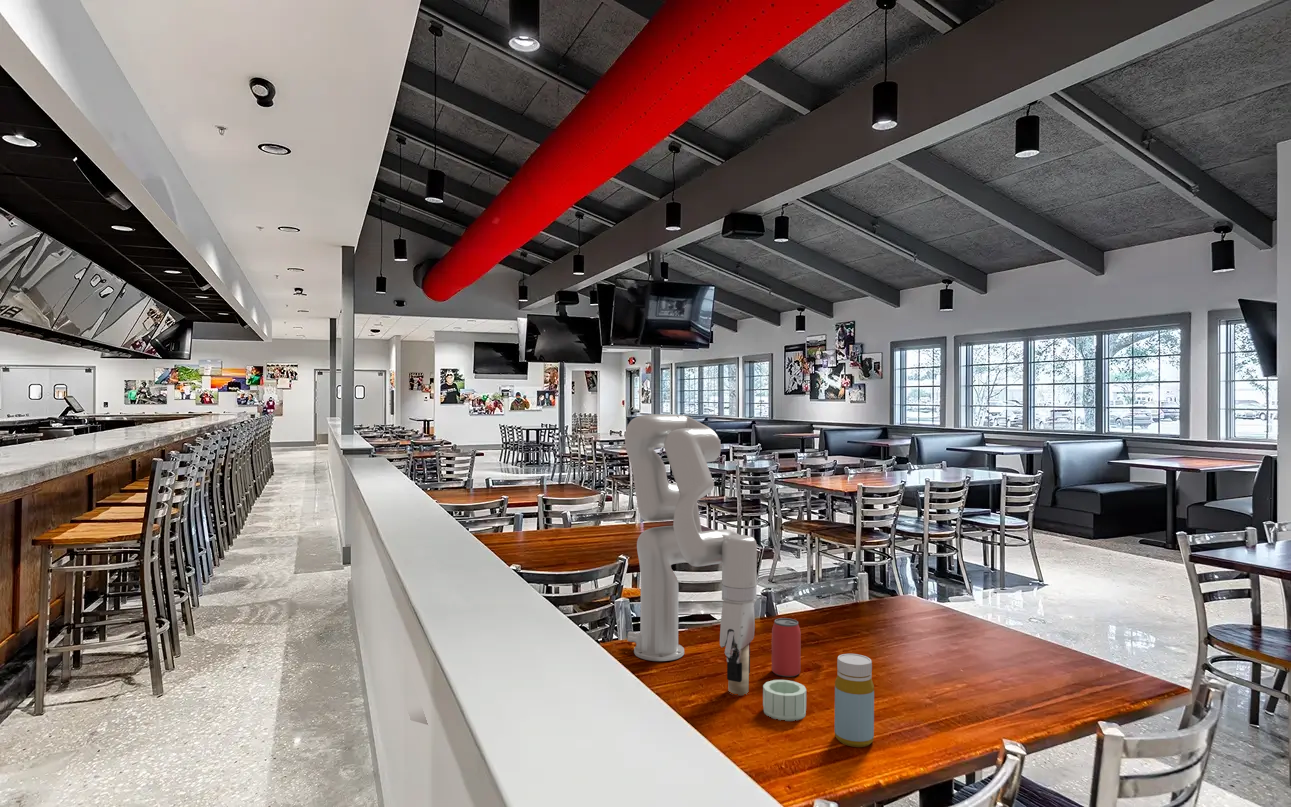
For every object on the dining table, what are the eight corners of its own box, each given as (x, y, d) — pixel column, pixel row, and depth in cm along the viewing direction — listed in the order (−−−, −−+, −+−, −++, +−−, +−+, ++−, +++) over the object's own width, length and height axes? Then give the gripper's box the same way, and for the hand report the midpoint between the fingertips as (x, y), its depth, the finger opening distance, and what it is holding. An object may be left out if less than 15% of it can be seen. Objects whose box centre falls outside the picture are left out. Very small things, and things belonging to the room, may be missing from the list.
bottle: (829, 732, 139) (829, 653, 139) (865, 731, 140) (865, 652, 140) (842, 749, 132) (842, 666, 132) (879, 747, 133) (880, 665, 133)
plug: (725, 693, 158) (725, 646, 158) (732, 686, 162) (732, 641, 162) (744, 696, 156) (745, 649, 156) (751, 689, 160) (751, 644, 160)
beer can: (800, 679, 166) (800, 626, 167) (771, 676, 168) (771, 624, 168) (800, 669, 173) (800, 618, 173) (772, 666, 174) (772, 616, 174)
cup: (758, 715, 146) (758, 690, 146) (770, 701, 154) (770, 677, 154) (799, 724, 142) (799, 698, 142) (810, 708, 150) (810, 684, 150)
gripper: (736, 582, 168) (735, 662, 168) (708, 599, 153) (707, 686, 153) (767, 586, 165) (767, 667, 165) (742, 604, 150) (741, 693, 150)
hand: (738, 676), depth 159 cm, fingers closed on plug, 4 cm apart
